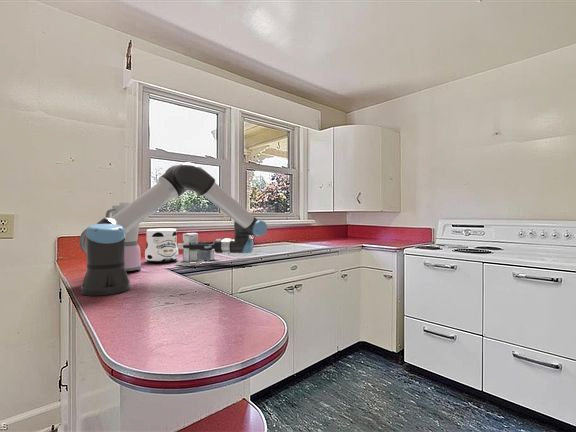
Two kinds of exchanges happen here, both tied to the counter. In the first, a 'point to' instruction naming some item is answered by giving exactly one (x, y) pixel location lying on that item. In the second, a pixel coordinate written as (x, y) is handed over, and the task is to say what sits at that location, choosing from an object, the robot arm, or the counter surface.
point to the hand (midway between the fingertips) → (181, 245)
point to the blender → (129, 242)
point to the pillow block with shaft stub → (206, 254)
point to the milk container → (161, 245)
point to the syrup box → (188, 254)
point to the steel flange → (190, 263)
